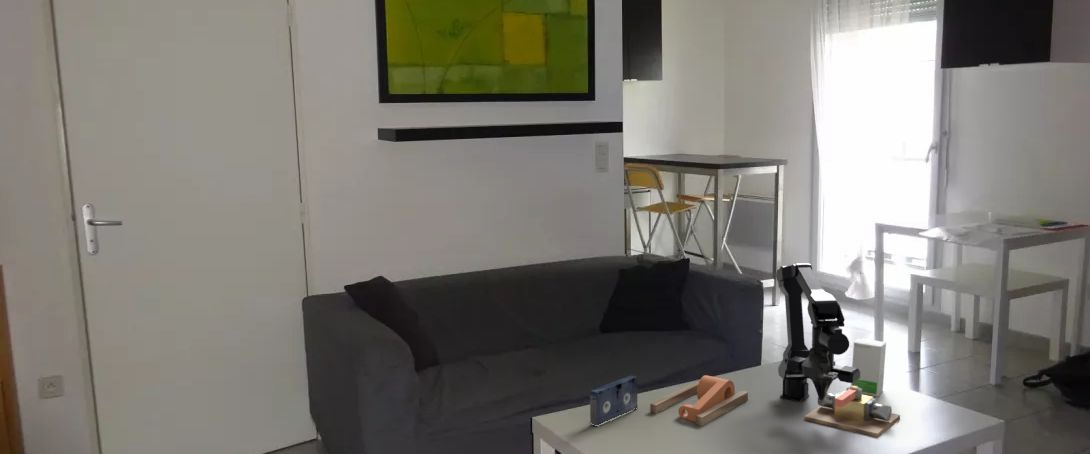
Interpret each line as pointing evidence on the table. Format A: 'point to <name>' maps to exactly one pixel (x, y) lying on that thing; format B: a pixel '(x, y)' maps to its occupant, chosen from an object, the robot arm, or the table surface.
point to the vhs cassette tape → (613, 400)
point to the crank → (708, 396)
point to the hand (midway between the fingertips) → (821, 399)
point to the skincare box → (869, 365)
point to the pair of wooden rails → (705, 415)
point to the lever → (848, 396)
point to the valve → (857, 408)
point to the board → (851, 422)
